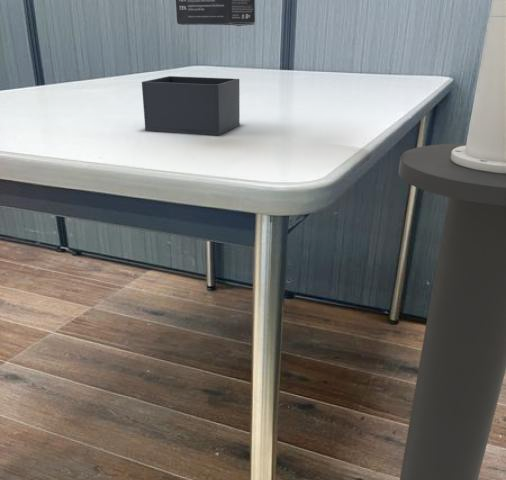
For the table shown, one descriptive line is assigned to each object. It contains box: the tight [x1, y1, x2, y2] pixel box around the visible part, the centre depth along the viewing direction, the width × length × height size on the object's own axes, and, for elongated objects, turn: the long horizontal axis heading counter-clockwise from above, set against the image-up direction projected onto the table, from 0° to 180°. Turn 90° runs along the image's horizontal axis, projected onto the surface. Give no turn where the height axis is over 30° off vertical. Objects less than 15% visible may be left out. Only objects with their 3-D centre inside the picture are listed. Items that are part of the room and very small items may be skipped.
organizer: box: [141, 75, 241, 136], centre depth 86 cm, size 11×9×6 cm
